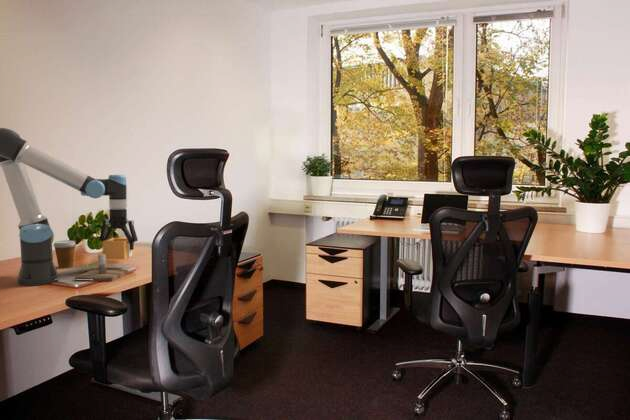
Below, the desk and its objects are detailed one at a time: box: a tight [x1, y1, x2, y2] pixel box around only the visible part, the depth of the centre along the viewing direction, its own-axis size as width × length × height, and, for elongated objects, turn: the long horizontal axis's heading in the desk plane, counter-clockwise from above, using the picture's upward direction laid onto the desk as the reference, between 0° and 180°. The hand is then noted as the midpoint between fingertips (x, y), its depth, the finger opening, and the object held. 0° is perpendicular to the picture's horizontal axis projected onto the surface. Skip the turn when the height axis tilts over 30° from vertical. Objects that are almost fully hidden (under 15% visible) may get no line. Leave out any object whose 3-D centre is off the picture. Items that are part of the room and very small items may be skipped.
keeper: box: [74, 253, 129, 282], centre depth 234 cm, size 16×16×10 cm
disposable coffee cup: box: [53, 239, 77, 269], centre depth 254 cm, size 10×10×12 cm
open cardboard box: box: [102, 237, 135, 260], centre depth 250 cm, size 10×10×8 cm
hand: (118, 256), depth 250 cm, fingers closed on open cardboard box, 10 cm apart
